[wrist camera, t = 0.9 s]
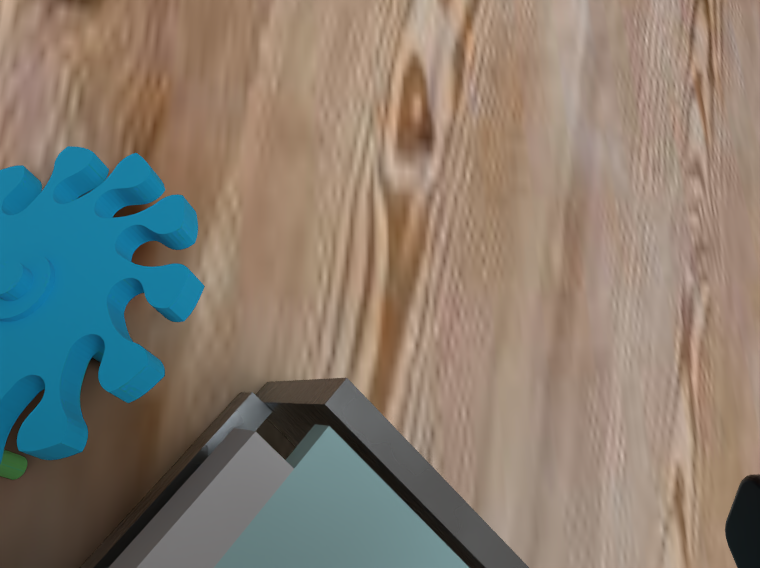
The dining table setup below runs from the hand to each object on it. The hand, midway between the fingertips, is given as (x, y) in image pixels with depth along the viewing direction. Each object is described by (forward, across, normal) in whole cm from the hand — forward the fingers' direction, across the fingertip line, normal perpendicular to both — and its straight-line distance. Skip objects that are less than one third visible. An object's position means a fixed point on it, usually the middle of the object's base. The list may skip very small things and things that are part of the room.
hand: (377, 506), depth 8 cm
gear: (+13, +11, +5) cm, 18 cm away
